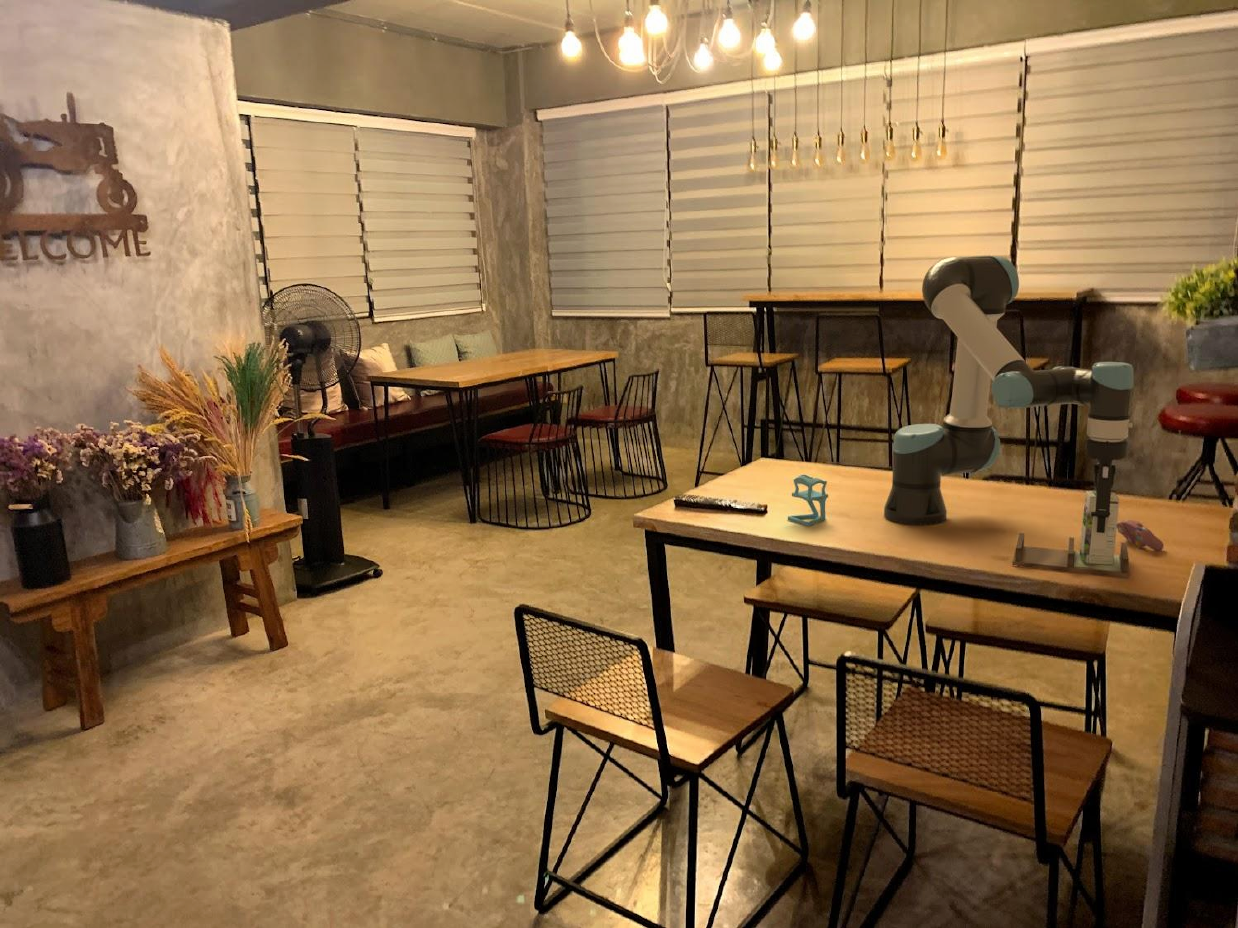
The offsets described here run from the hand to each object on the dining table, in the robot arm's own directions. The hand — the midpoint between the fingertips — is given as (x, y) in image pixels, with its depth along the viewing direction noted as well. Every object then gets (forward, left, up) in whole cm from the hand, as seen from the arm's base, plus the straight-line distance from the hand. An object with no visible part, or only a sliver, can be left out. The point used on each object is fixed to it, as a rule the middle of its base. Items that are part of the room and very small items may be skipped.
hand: (1098, 537), depth 192 cm
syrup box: (0, 0, -5) cm, 5 cm away
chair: (-65, +13, -7) cm, 67 cm away
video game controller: (+9, +19, -7) cm, 22 cm away
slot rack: (-5, 0, -6) cm, 8 cm away
